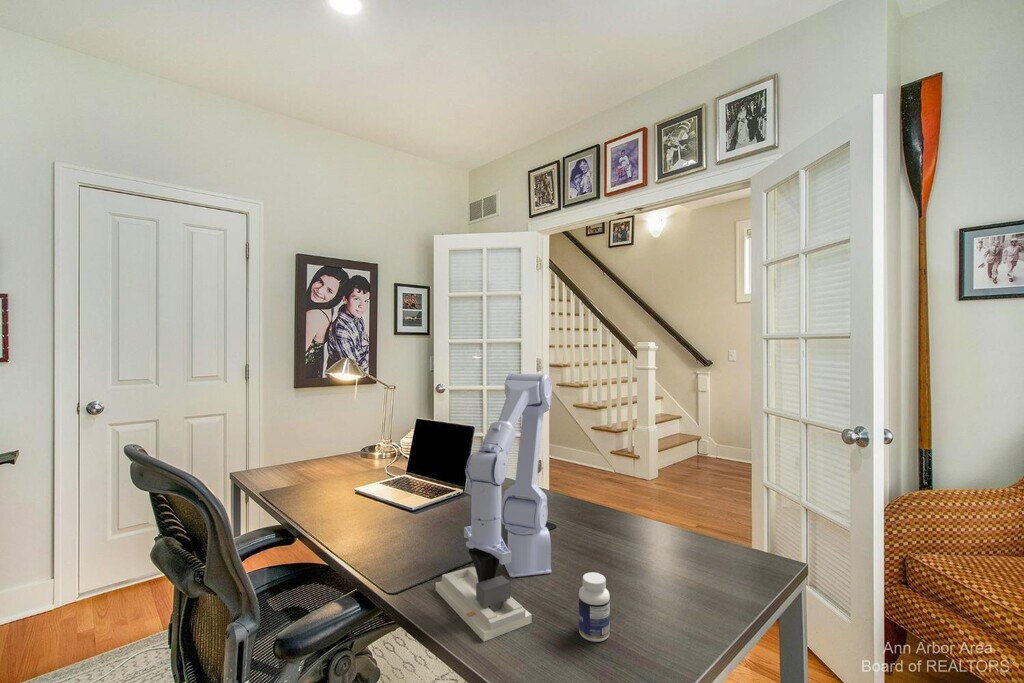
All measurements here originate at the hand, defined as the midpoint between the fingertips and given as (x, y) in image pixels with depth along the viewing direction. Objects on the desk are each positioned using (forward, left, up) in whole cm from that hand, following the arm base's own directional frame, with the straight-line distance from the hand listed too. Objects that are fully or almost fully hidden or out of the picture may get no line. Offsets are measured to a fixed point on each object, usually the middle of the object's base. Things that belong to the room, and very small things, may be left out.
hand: (485, 587), depth 89 cm
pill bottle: (-17, +11, -5) cm, 21 cm away
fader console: (+1, -2, -4) cm, 5 cm away
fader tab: (-1, +2, -3) cm, 4 cm away
